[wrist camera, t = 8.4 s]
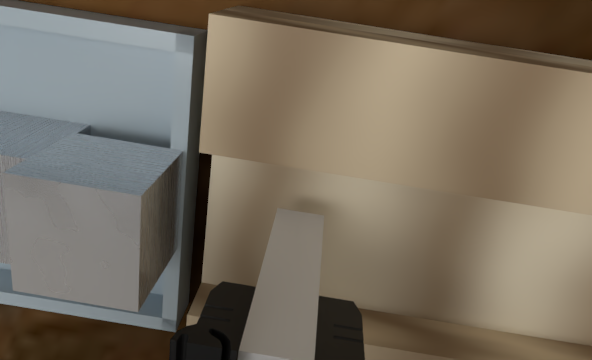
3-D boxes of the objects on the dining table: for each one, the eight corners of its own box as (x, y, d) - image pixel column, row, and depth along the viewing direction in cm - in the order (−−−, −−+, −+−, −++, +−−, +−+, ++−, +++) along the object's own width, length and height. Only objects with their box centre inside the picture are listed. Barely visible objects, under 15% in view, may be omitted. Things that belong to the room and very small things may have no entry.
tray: (-28, 267, 23) (-61, 293, 21) (-63, -13, 18) (-108, -12, 16) (188, 303, 23) (175, 332, 21) (208, 30, 18) (194, 36, 16)
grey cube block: (92, 217, 21) (-3, 201, 21) (90, 125, 19) (-12, 108, 19) (39, 269, 17) (-76, 250, 17) (32, 159, 15) (-95, 139, 16)
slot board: (208, 324, 23) (180, 401, 19) (238, 5, 18) (208, 13, 13) (555, 381, 23) (604, 471, 19) (690, 76, 17) (803, 106, 13)
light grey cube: (76, 230, 19) (12, 290, 16) (73, 132, 18) (2, 172, 14) (177, 248, 19) (138, 312, 15) (183, 150, 18) (141, 195, 14)
